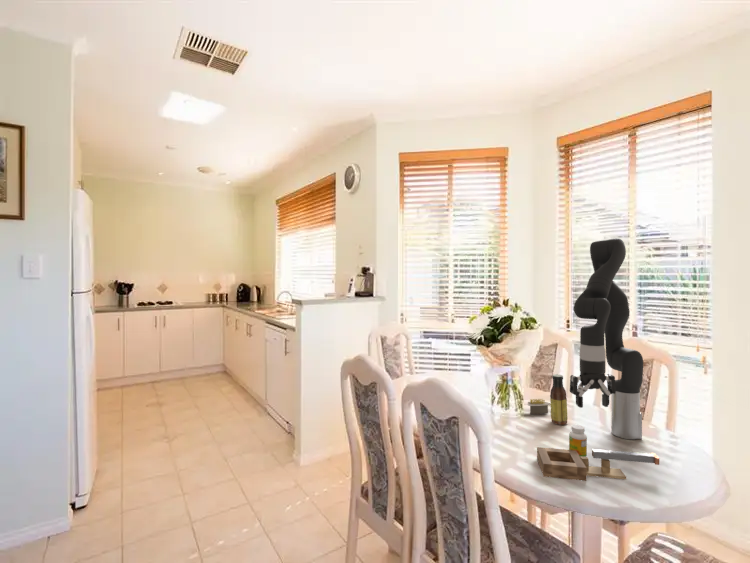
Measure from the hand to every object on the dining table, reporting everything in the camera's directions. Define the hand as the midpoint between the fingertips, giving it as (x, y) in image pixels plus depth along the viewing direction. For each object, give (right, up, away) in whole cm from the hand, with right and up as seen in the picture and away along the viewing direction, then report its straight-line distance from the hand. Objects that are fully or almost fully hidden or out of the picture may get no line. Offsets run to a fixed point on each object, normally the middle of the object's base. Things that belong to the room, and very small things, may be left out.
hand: (592, 406), depth 132 cm
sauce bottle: (+4, -17, +33) cm, 38 cm away
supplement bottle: (-3, -18, +4) cm, 19 cm away
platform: (0, -18, +45) cm, 48 cm away
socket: (-13, -18, -6) cm, 23 cm away
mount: (-2, -18, -9) cm, 20 cm away
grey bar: (+4, -13, -10) cm, 17 cm away
